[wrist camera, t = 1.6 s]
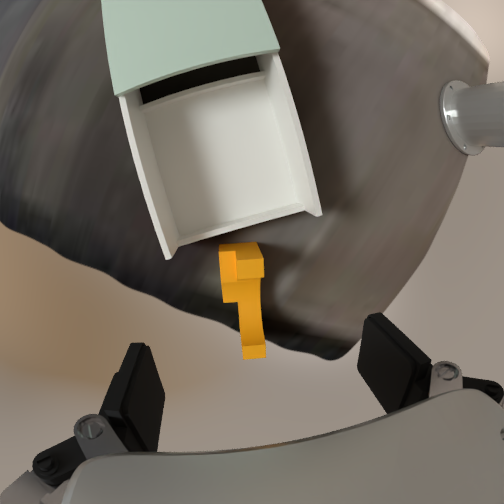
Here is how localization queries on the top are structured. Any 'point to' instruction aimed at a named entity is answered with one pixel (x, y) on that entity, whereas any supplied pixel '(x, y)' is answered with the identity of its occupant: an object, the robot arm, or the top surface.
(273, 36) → the lid
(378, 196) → the top surface
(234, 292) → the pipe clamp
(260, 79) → the housing
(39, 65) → the top surface
